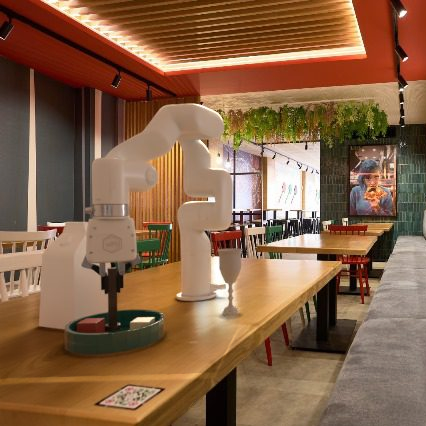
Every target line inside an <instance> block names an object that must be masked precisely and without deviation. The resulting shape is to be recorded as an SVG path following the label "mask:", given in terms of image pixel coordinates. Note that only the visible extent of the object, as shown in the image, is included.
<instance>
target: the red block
mask: <svg viewBox="0 0 426 426" xmlns="http://www.w3.org/2000/svg"><path fill="white" fill-rule="evenodd" d="M77 332H78V333H105V318H87V319H85V320H83V321H81V322H79V323H77Z"/></svg>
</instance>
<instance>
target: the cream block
mask: <svg viewBox="0 0 426 426" xmlns="http://www.w3.org/2000/svg"><path fill="white" fill-rule="evenodd" d="M154 322H155V317H137V318H136V319H134V320H133V321H131V322H130V330H131V329H136V328H140V327H143V326H147V325H149V324H152V323H154Z"/></svg>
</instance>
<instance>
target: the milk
mask: <svg viewBox="0 0 426 426" xmlns="http://www.w3.org/2000/svg"><path fill="white" fill-rule="evenodd" d="M87 226H88V221H66V222H65V223H64V226H63V229H62V233H61V234H59V235H58V236H57V237H56V238H55V239H54V240H53V241H52V242H51V243H50V244H49V245H48V246H47V247H46V248H45V250H44V251H43V253H42V256H41V270H40V271H41V273H40V291H39V292H40V294H39V296H40V297H39V313H38V314H39V318H38V319H39V320H38V327H44V328H51V329H57V330H64V328H65V326H66V325H67V324H68V323H69V322H71V321H74V320H76V319H79V318H82V317H85V316H89V315H93V314H98V313H104V312H108V293H107V294H105V291H104V290H101V276H100V275H99V274H97V273H96V272H95V271H94V270H92V269H88V268H84V267H82V266H81V264H82V262H83V260H84V257H85V255H86V238H87ZM93 264H96V265H98V266H99V263H93ZM105 268H106V272H107V275H108V268H112V264H111V263H105Z"/></svg>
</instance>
